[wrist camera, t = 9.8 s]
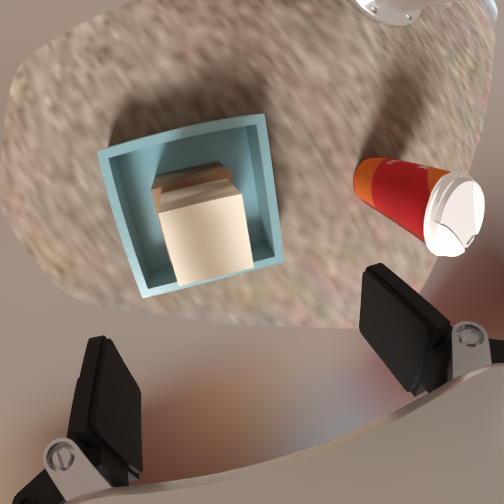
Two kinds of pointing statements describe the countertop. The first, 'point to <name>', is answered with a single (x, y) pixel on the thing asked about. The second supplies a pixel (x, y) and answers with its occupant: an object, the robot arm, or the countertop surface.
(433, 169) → the paper cup
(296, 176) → the countertop surface
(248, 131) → the tote
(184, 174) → the walnut block
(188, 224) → the birch block
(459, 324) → the robot arm
